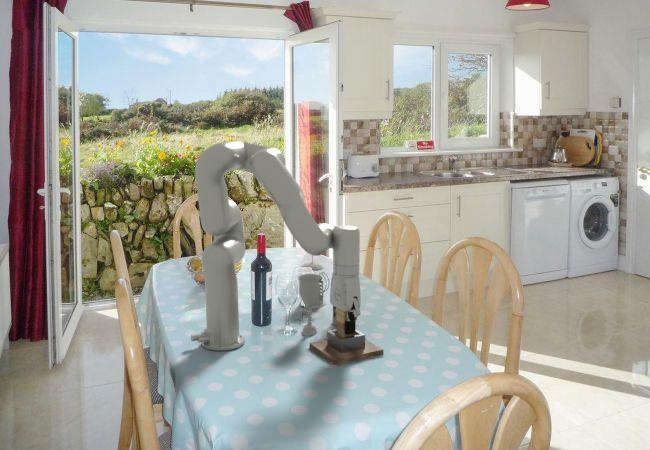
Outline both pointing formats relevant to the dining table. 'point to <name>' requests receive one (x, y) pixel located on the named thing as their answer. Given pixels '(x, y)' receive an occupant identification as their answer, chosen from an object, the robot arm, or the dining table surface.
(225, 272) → the robot arm
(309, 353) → the dining table surface
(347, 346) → the grey square socket
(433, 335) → the dining table surface
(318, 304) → the french press
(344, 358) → the board
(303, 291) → the chalice
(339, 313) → the rail post
